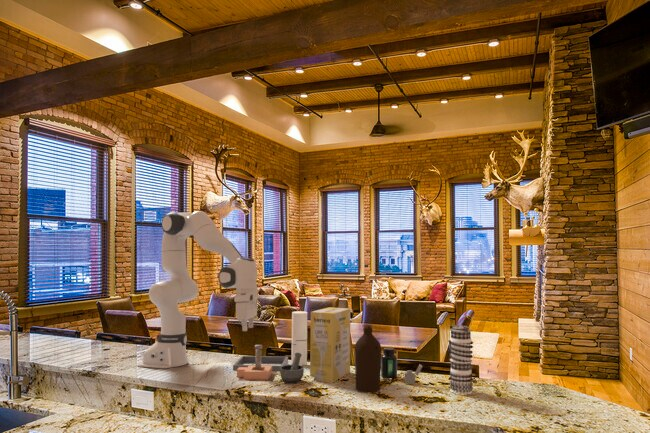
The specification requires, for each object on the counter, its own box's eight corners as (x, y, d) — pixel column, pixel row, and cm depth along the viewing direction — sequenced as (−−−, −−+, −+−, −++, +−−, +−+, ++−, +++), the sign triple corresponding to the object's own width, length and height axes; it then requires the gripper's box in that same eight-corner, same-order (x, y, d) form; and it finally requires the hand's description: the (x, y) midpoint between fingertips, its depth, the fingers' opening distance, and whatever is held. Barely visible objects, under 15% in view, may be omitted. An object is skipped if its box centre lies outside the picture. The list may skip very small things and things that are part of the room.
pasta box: (328, 369, 214) (329, 307, 216) (350, 372, 209) (350, 308, 211) (310, 379, 198) (310, 311, 199) (332, 382, 193) (333, 313, 195)
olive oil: (384, 387, 188) (384, 323, 189) (376, 394, 178) (376, 327, 179) (359, 383, 192) (359, 321, 193) (350, 391, 182) (350, 325, 184)
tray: (232, 373, 206) (233, 365, 206) (241, 363, 224) (241, 355, 224) (283, 374, 205) (283, 366, 206) (287, 364, 223) (288, 356, 223)
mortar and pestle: (295, 390, 183) (295, 358, 184) (274, 386, 187) (275, 355, 188) (309, 382, 193) (309, 352, 194) (290, 379, 197) (290, 350, 198)
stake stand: (237, 384, 190) (238, 348, 191) (244, 374, 204) (245, 341, 205) (272, 384, 189) (272, 349, 190) (277, 375, 203) (277, 342, 204)
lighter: (404, 384, 192) (404, 364, 193) (404, 382, 194) (404, 363, 194) (422, 385, 190) (422, 365, 191) (422, 384, 192) (422, 364, 192)
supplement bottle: (393, 380, 198) (393, 350, 199) (378, 377, 201) (378, 349, 202) (399, 376, 204) (399, 348, 204) (384, 374, 207) (384, 346, 208)
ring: (235, 378, 192) (235, 371, 192) (240, 372, 202) (240, 365, 202) (268, 379, 192) (268, 372, 192) (271, 373, 202) (272, 365, 202)
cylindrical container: (304, 369, 214) (305, 313, 215) (289, 368, 215) (290, 313, 217) (308, 365, 221) (308, 311, 222) (293, 364, 222) (294, 311, 224)
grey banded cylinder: (471, 396, 176) (470, 328, 178) (446, 392, 181) (445, 326, 182) (476, 390, 184) (475, 325, 186) (452, 386, 189) (451, 323, 190)
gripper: (246, 294, 209) (246, 326, 208) (232, 298, 189) (233, 333, 188) (260, 293, 209) (261, 325, 207) (248, 297, 188) (249, 332, 187)
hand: (248, 329), depth 197 cm, fingers open, 8 cm apart
